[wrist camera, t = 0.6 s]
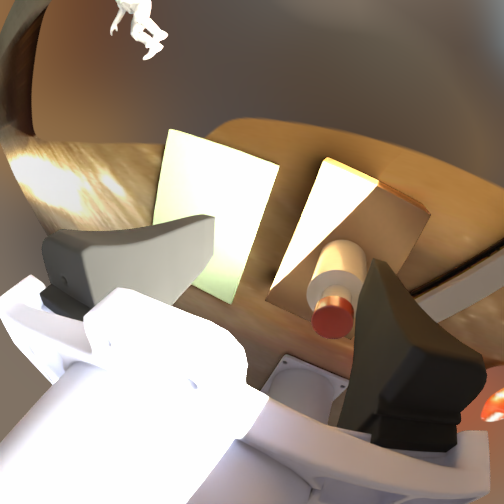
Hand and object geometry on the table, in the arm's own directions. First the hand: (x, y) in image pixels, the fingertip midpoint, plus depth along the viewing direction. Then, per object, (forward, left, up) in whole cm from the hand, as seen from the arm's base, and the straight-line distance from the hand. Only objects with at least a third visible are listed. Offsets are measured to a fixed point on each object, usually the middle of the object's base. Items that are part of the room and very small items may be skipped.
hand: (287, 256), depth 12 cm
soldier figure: (+12, +21, -10) cm, 26 cm away
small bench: (-3, -3, -10) cm, 11 cm away
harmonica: (0, -14, -10) cm, 18 cm away
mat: (-6, +9, -10) cm, 14 cm away
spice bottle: (-3, -3, -7) cm, 9 cm away
